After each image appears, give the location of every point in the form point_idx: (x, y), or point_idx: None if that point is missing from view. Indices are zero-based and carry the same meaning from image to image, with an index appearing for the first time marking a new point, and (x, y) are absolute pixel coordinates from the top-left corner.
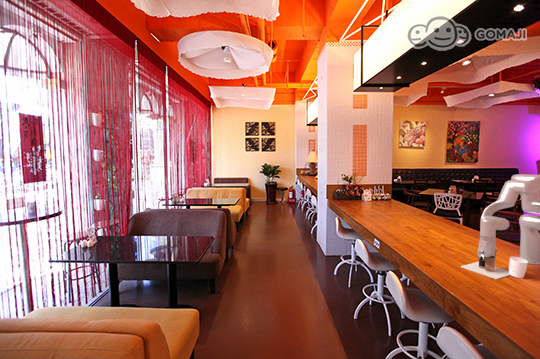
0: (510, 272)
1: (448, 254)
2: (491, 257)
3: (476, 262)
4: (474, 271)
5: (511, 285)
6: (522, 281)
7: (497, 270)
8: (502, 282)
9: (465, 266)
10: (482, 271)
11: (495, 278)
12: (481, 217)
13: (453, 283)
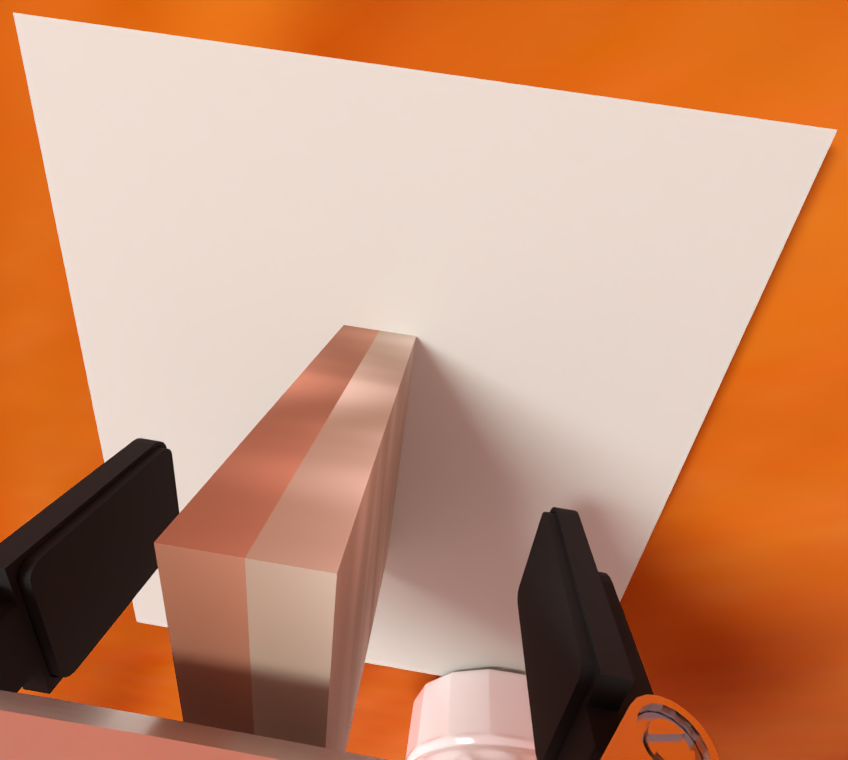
0: (417, 731)
1: None
2: (571, 727)
3: (690, 131)
4: (91, 351)
5: (151, 710)
6: (367, 747)
7: (477, 561)
8: (135, 656)
9: (120, 105)
10: (201, 444)
11: (138, 610)
12: None
13: None
